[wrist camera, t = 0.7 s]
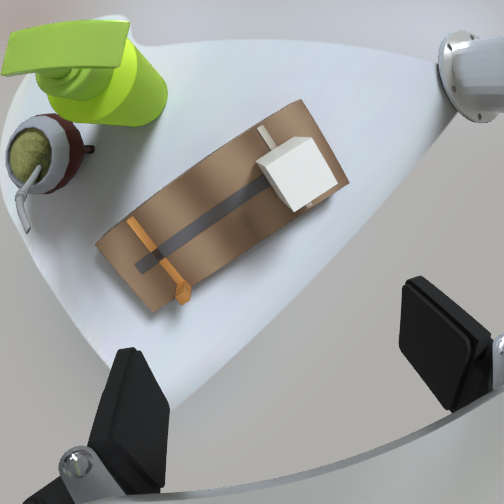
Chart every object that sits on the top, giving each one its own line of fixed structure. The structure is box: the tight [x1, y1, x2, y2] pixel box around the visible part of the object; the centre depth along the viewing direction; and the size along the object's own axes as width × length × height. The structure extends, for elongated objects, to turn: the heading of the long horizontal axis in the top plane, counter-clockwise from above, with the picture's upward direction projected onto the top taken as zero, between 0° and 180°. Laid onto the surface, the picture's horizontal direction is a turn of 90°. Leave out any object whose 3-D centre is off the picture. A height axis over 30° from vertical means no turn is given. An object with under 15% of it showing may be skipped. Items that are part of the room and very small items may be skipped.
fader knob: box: [256, 137, 338, 212], centre depth 25 cm, size 4×4×5 cm
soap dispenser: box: [1, 20, 168, 127], centre depth 17 cm, size 6×7×20 cm
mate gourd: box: [6, 113, 95, 234], centre depth 20 cm, size 8×8×15 cm
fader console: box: [95, 99, 349, 312], centre depth 28 cm, size 23×9×6 cm, turn 123°
